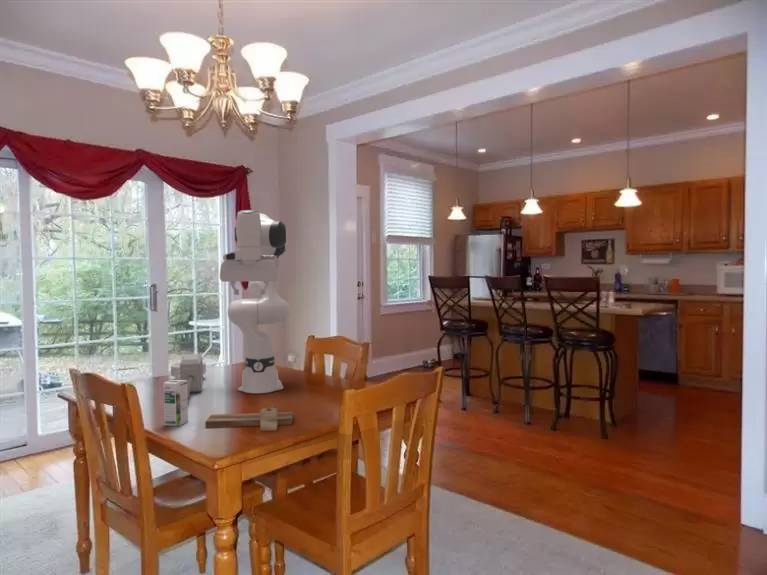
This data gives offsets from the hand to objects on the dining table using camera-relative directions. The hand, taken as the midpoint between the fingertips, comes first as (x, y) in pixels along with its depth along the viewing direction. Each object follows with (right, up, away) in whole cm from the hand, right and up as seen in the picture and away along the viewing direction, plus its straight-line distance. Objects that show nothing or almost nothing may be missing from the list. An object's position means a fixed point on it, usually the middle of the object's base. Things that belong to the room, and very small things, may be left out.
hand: (250, 294), depth 185 cm
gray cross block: (-43, -41, +56) cm, 82 cm away
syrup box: (-23, -44, -9) cm, 50 cm away
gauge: (+10, -43, -11) cm, 46 cm away
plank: (+2, -43, -9) cm, 44 cm away
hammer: (-31, -42, +24) cm, 58 cm away
